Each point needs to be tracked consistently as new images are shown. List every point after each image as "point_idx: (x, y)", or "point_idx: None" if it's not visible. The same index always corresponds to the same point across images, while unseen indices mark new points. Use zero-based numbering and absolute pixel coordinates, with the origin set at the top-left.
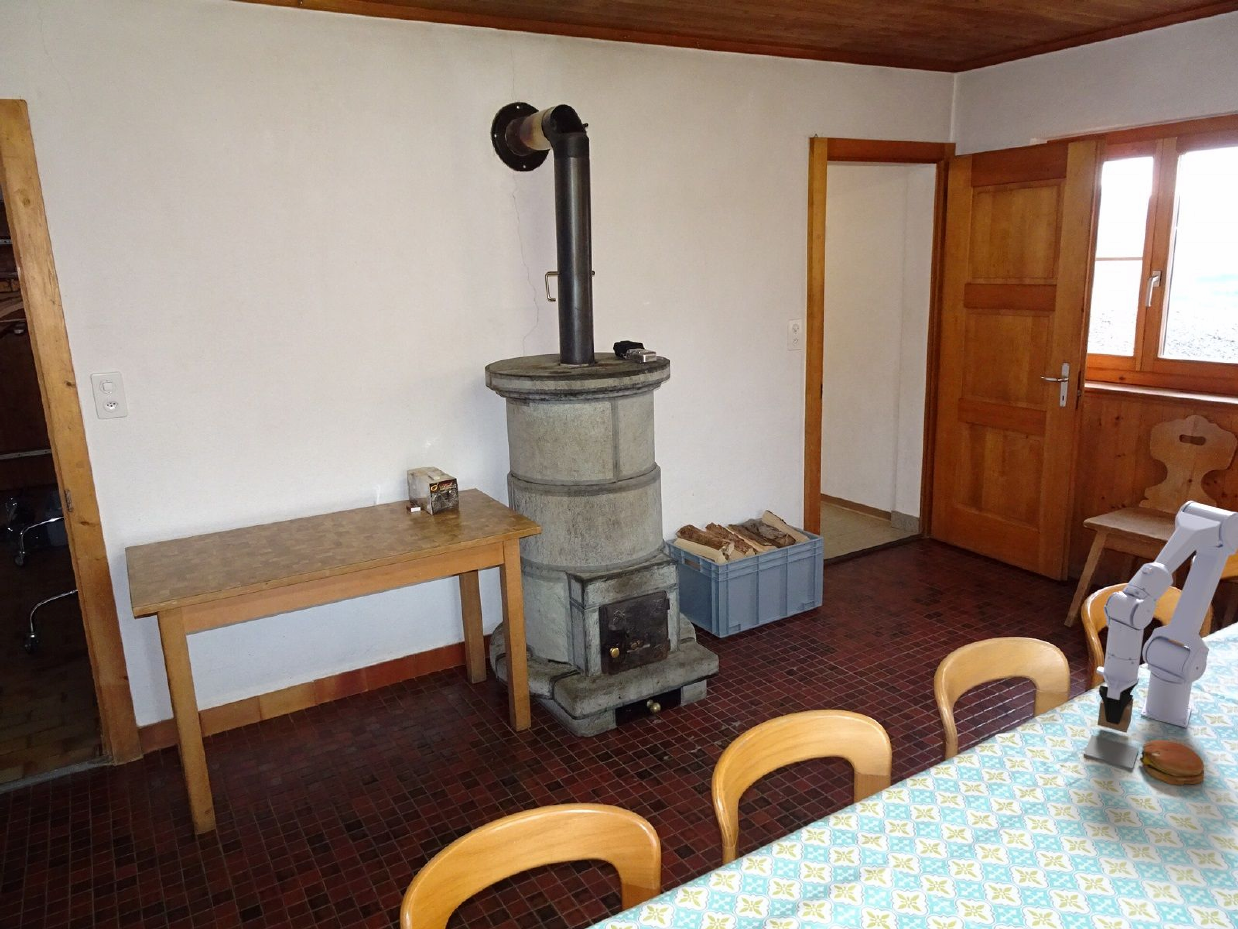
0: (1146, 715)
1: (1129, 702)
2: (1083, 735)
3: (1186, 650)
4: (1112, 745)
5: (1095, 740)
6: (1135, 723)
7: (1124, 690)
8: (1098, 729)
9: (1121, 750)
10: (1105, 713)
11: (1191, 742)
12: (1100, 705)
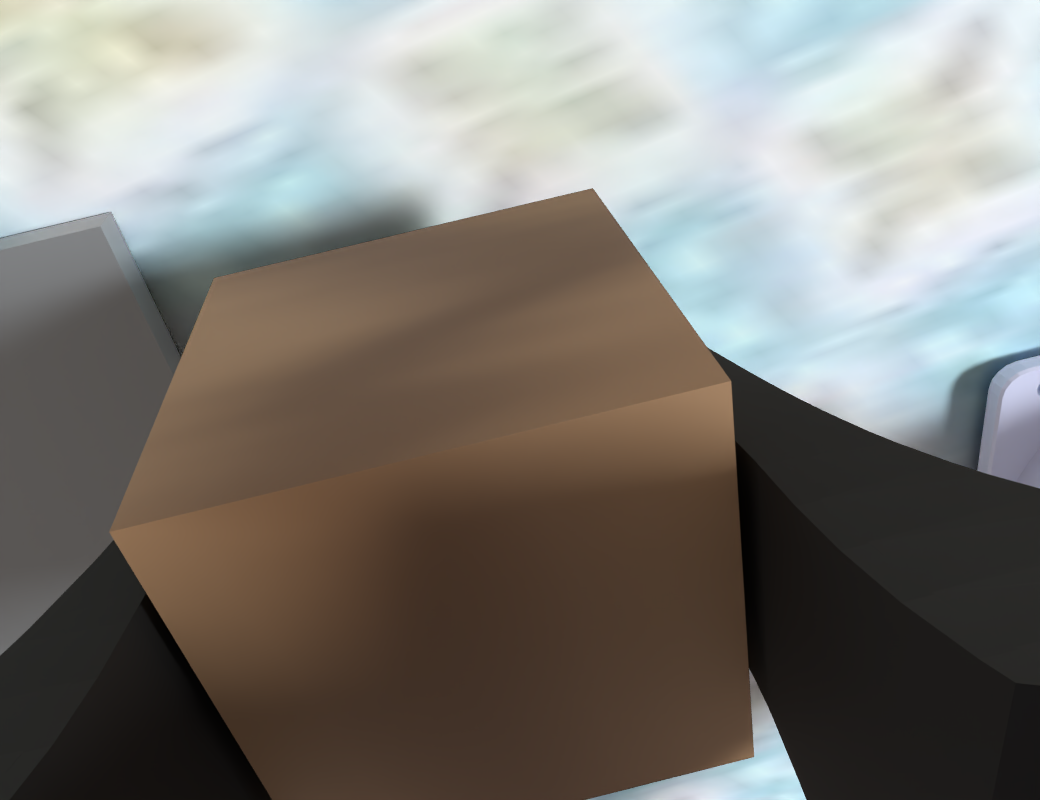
0: (997, 420)
1: (574, 779)
2: (63, 113)
3: None
4: (92, 475)
5: (4, 316)
6: (813, 384)
7: (815, 756)
8: (390, 183)
9: (90, 558)
10: (113, 540)
11: (754, 718)
12: (129, 493)
